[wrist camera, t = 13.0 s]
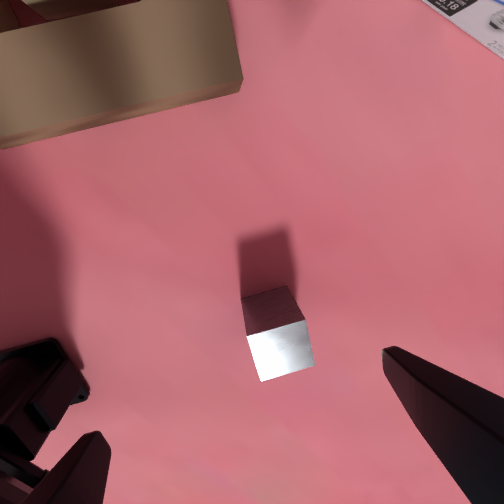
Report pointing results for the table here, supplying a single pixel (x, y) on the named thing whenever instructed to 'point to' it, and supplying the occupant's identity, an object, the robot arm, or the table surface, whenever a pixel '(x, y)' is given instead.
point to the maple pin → (68, 7)
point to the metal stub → (277, 333)
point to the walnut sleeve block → (112, 66)
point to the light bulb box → (476, 19)
